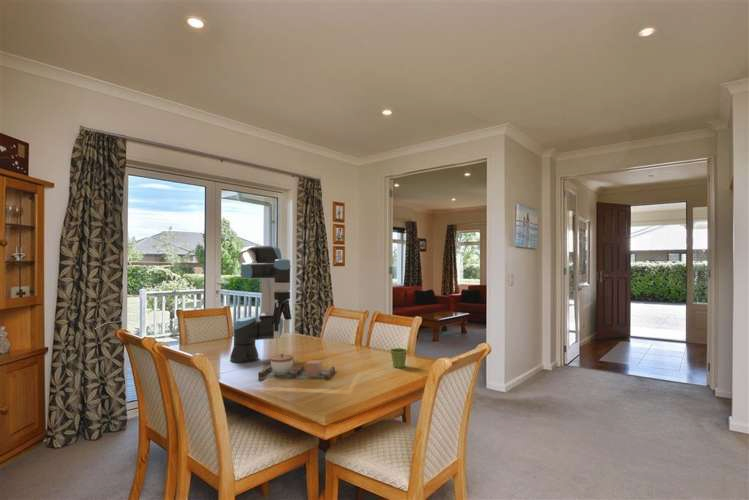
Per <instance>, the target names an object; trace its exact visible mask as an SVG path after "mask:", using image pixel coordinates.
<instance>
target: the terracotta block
mask: <svg viewBox="0 0 749 500" xmlns="http://www.w3.org/2000/svg"><path fill="white" fill-rule="evenodd" d="M305 370H306V376H319V375H320V374H321V370H322V360H316V359H315V360H313V359H309V360H307V362H306V363H305Z"/></svg>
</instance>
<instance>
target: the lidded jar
mask: <svg viewBox="0 0 749 500" xmlns="http://www.w3.org/2000/svg"><path fill="white" fill-rule="evenodd" d="M269 358H270V365H271V368H272V370H273V372H274V373H275V374H276V375H285V374H288V372H289V371H290V370H291V369H292V368H293V364H294V362H293V361H294V356H293V355H291V354H284V353H280V354H275V355H273V356H271V357H269Z"/></svg>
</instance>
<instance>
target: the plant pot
mask: <svg viewBox="0 0 749 500" xmlns="http://www.w3.org/2000/svg"><path fill="white" fill-rule="evenodd" d="M389 352H390V355H391V361H392V367H393V368H396V369H403V368H406V367H405V366H406V358H407V354H408V352H409V351H408V349H406V348H399V347H398V348H396V347H395V348H391V349H389Z"/></svg>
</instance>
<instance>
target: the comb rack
mask: <svg viewBox="0 0 749 500" xmlns="http://www.w3.org/2000/svg"><path fill="white" fill-rule="evenodd" d="M304 367H305V365H300V366H298V367H297V368H296V369H294V368H293V369H292V368H291V370H290V371H289V372H288V374H285V375H276V374H275V373H274V372H273V370H272V368H271V364H269V365H267V366H266V367H265V368H263V369H262V370H260V371H259V372H258V373H257V376H258V377H257V378H258V379H257V380H258V381H265V380H266V379H271V378H272V379H293V380H294V379H297V380H321V381H322V380H325V381H326V380H327V381H328V380H329V379H330V378H331V376H332V375H333V374H334V372H335V370H336V367H335V366H331V367H330V368H329V369H328V370H324V369H323V370H322V369H321V374H320V375H319V376H306V369H304Z"/></svg>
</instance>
